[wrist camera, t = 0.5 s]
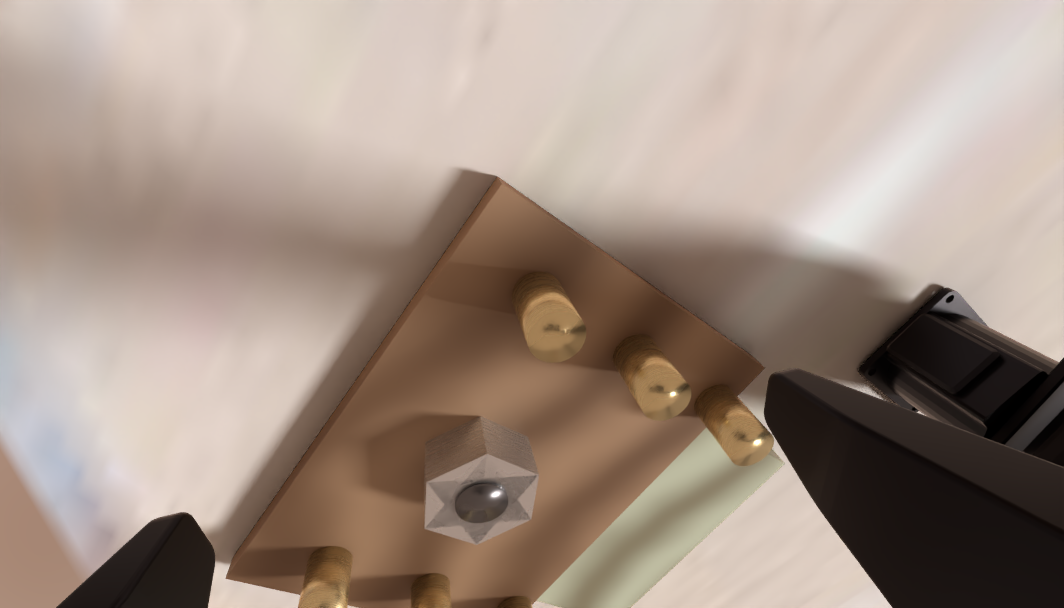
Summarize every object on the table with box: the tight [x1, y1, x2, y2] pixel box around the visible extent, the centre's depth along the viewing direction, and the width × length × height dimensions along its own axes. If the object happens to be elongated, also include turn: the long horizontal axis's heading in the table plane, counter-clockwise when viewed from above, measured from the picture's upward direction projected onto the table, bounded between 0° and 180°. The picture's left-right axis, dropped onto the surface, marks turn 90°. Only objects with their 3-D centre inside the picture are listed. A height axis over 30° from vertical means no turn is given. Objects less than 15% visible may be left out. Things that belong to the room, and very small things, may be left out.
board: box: [226, 177, 785, 608], centre depth 27 cm, size 24×24×1 cm
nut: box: [424, 416, 539, 545], centre depth 24 cm, size 6×5×3 cm
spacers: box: [298, 271, 774, 608], centre depth 25 cm, size 14×20×4 cm
